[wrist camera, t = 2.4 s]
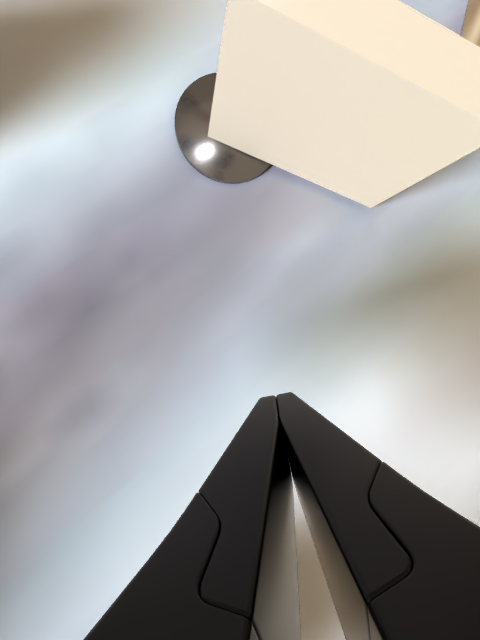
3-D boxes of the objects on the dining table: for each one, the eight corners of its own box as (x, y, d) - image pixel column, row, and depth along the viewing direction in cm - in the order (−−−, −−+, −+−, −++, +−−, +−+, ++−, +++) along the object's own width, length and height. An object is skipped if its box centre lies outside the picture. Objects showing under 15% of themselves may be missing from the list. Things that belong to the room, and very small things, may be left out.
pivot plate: (260, 199, 20) (262, 198, 20) (160, 157, 19) (159, 155, 19) (293, 104, 20) (294, 100, 20) (195, 57, 19) (195, 53, 19)
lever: (369, 208, 21) (517, 126, 12) (207, 138, 19) (231, -28, 10) (380, 174, 21) (536, 65, 12) (220, 100, 19) (256, -99, 10)
